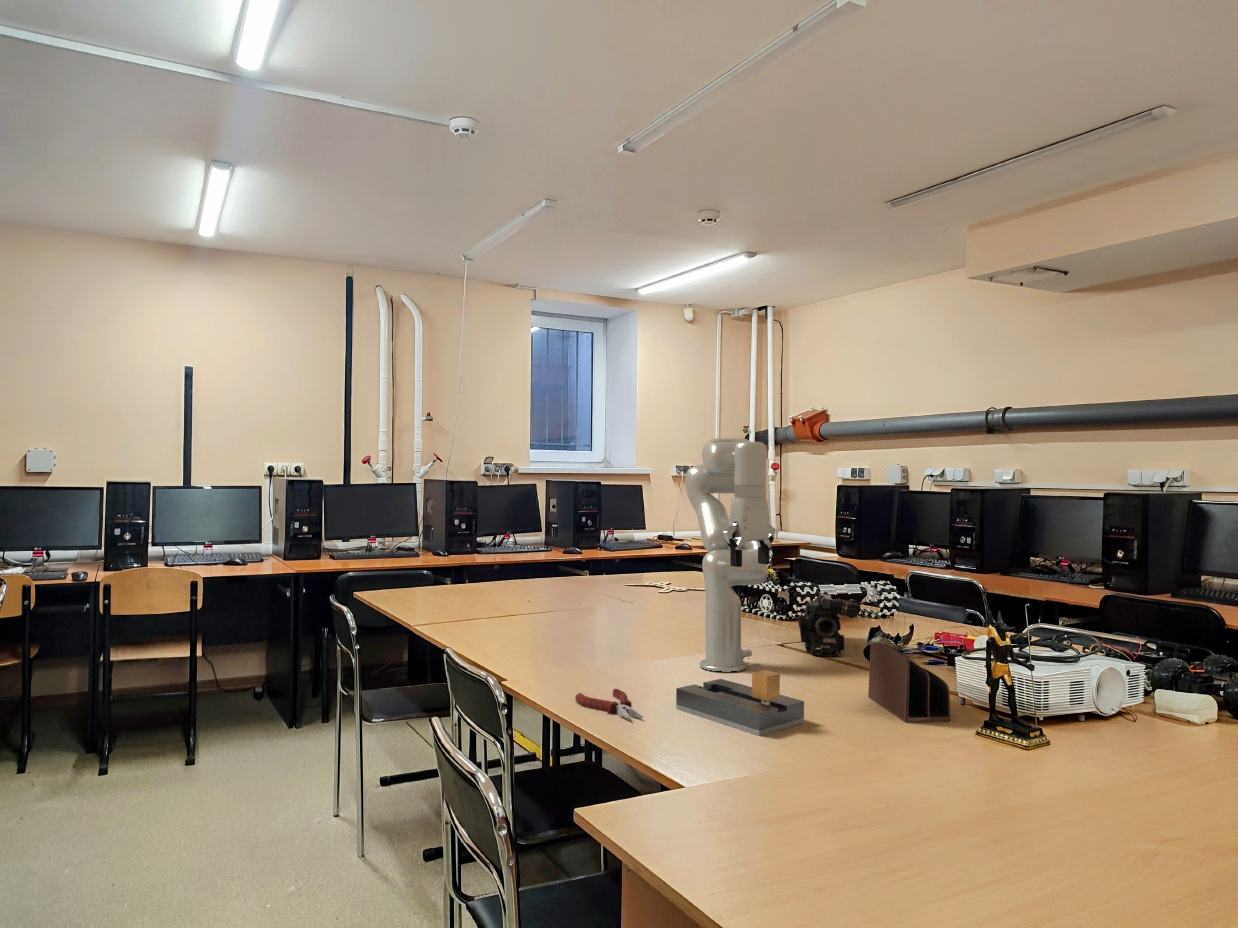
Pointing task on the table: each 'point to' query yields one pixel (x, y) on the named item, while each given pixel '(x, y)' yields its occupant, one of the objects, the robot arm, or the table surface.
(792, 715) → the keyhole track
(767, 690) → the peg
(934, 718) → the letter holder
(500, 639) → the table surface
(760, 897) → the table surface
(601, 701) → the pliers
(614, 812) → the table surface
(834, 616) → the movie camera
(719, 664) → the robot arm
